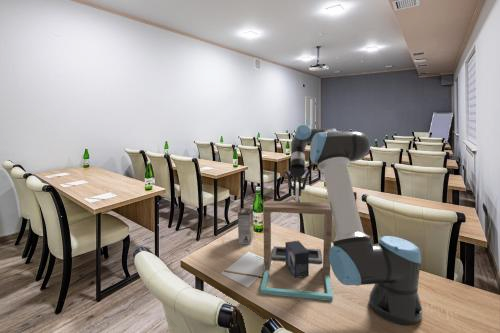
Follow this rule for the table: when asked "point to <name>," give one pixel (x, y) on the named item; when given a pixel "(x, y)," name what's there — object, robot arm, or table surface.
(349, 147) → the robot arm
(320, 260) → the pit plate
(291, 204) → the tunnel
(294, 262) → the small box
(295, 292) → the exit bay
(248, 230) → the coffee box
